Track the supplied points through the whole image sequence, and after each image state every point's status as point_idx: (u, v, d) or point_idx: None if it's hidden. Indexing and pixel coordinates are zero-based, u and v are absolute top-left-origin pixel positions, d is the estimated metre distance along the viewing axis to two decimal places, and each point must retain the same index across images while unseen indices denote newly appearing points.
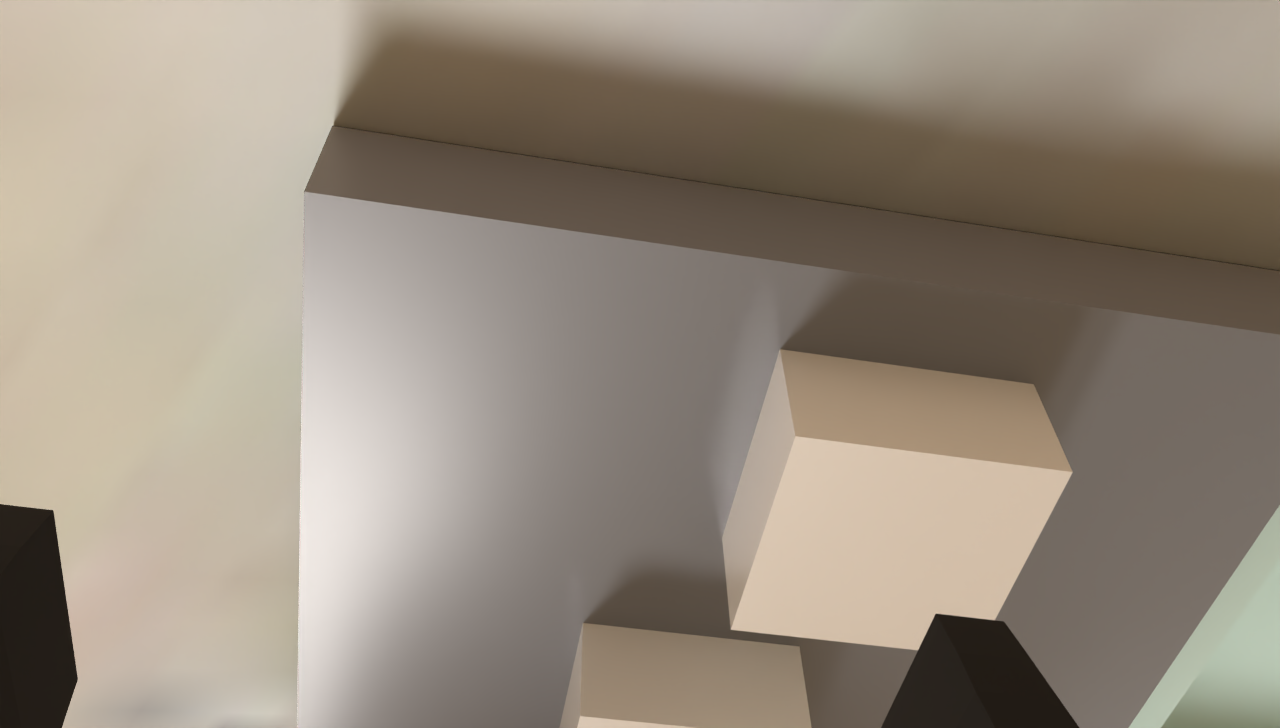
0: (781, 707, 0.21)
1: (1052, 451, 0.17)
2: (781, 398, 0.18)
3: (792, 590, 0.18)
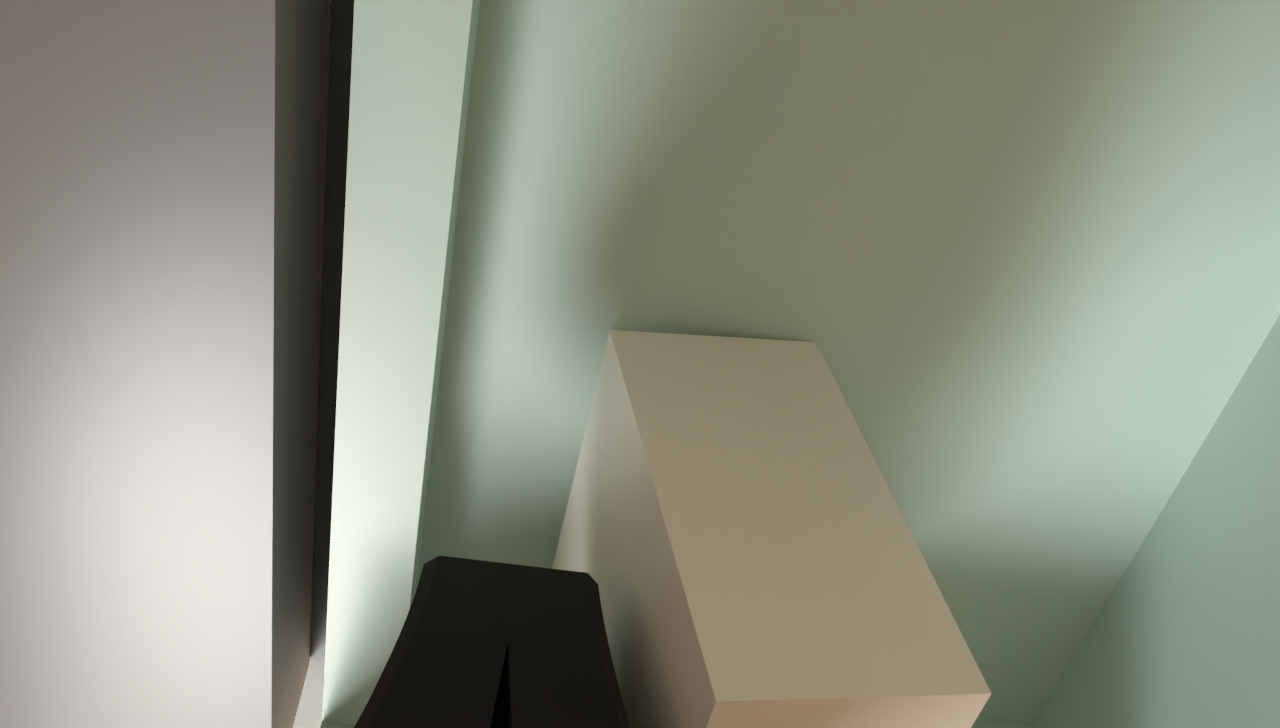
0: (772, 372, 0.11)
1: None
2: None
3: None
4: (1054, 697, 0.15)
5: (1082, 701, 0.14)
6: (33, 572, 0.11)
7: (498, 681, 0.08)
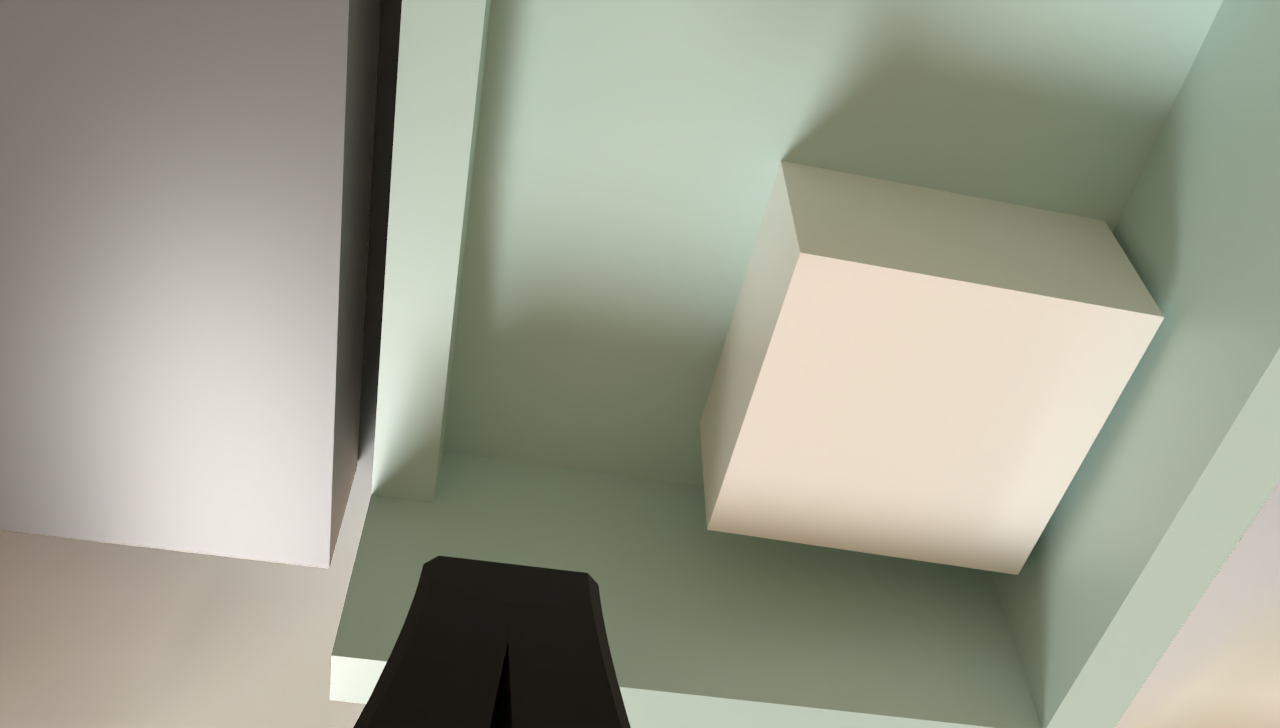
0: (828, 193, 0.13)
1: None
2: None
3: None
4: None
5: None
6: (145, 337, 0.13)
7: (498, 681, 0.08)
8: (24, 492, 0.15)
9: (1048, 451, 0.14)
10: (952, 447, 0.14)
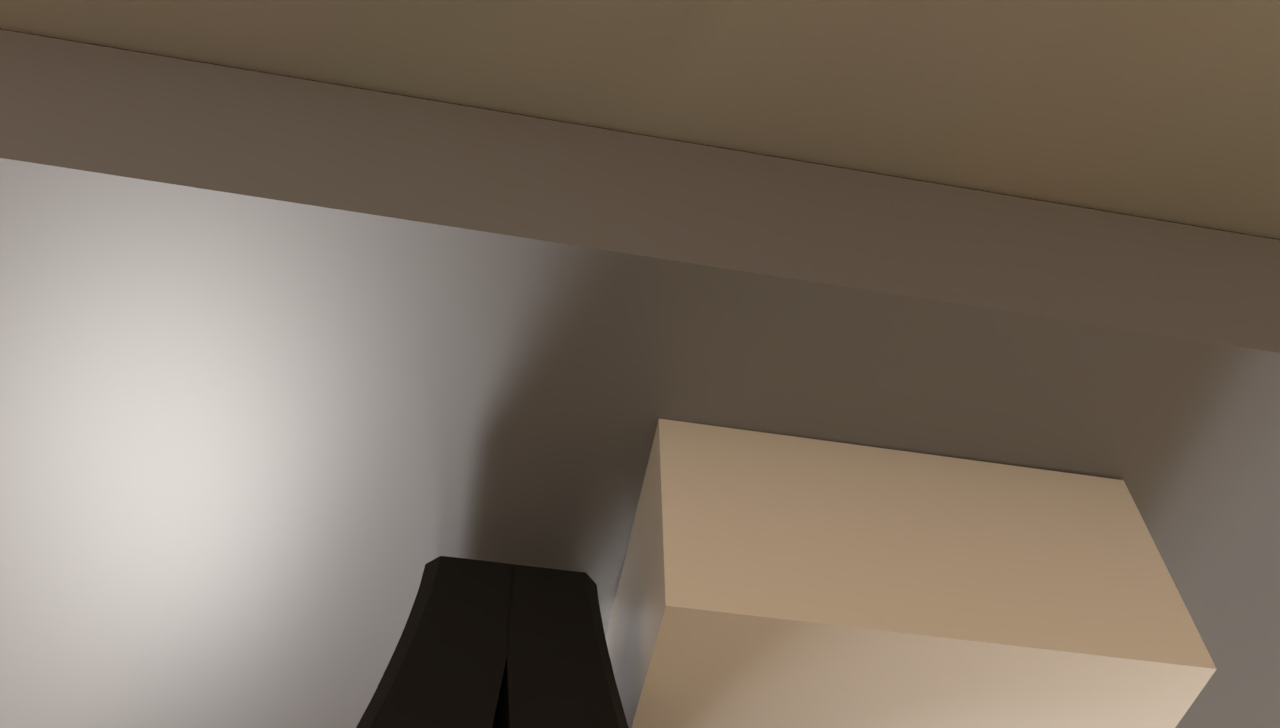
0: None
1: (1171, 622, 0.09)
2: (654, 515, 0.09)
3: None
4: None
5: None
6: None
7: (500, 681, 0.08)
8: None
9: None
10: None
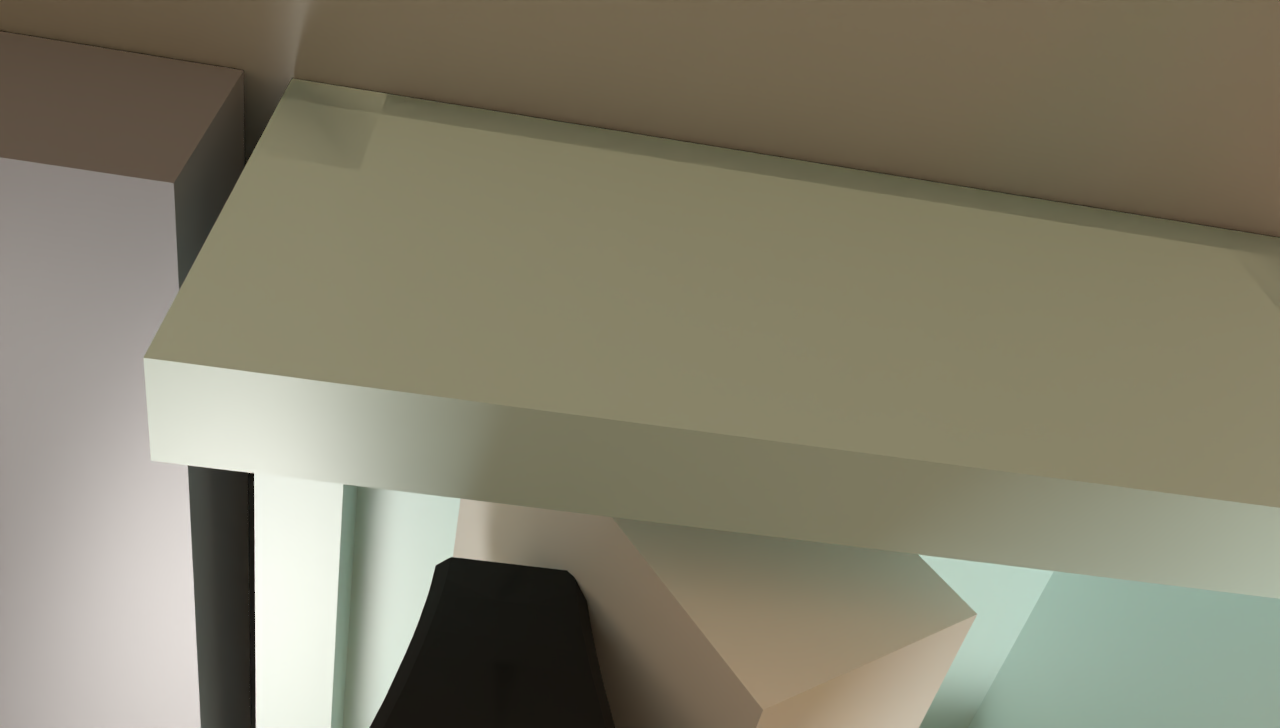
0: None
1: None
2: (848, 692, 0.08)
3: None
4: None
5: None
6: None
7: (512, 682, 0.08)
8: None
9: None
10: None
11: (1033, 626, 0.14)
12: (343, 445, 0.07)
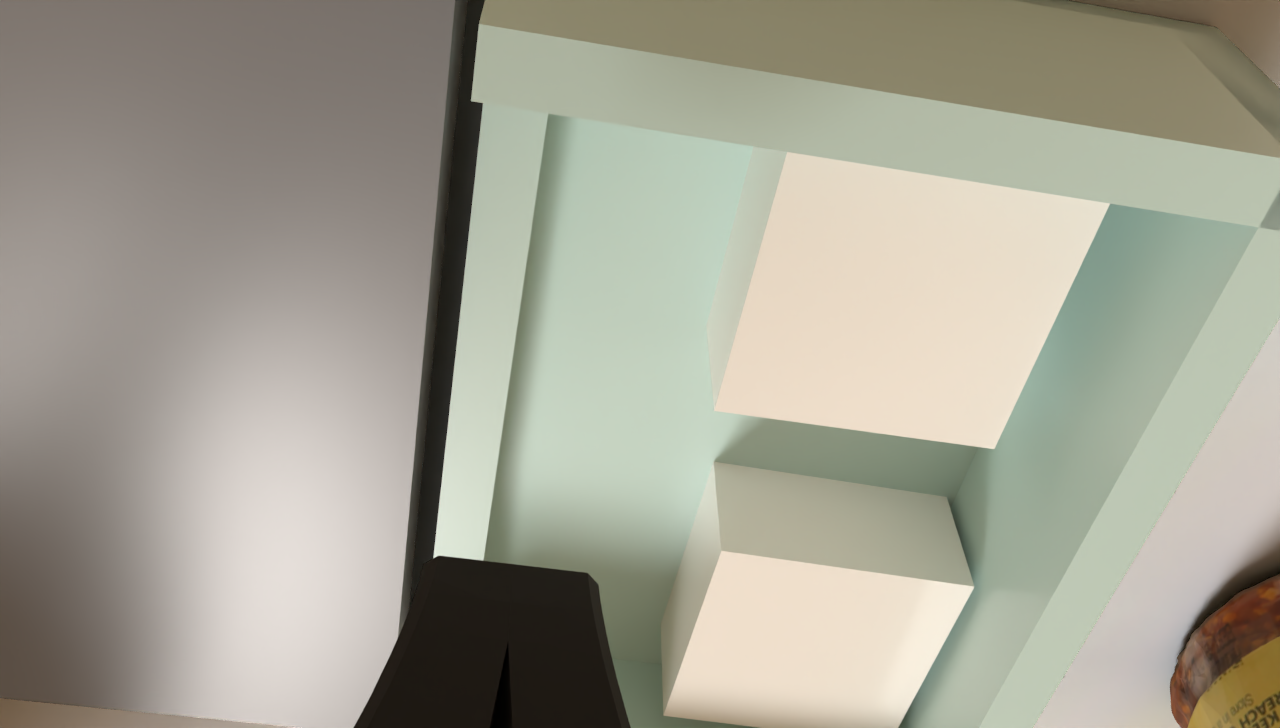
0: (746, 490, 0.19)
1: None
2: None
3: None
4: None
5: None
6: (267, 594, 0.19)
7: (498, 681, 0.08)
8: (171, 689, 0.20)
9: (903, 666, 0.20)
10: (835, 664, 0.20)
11: None
12: (592, 90, 0.12)
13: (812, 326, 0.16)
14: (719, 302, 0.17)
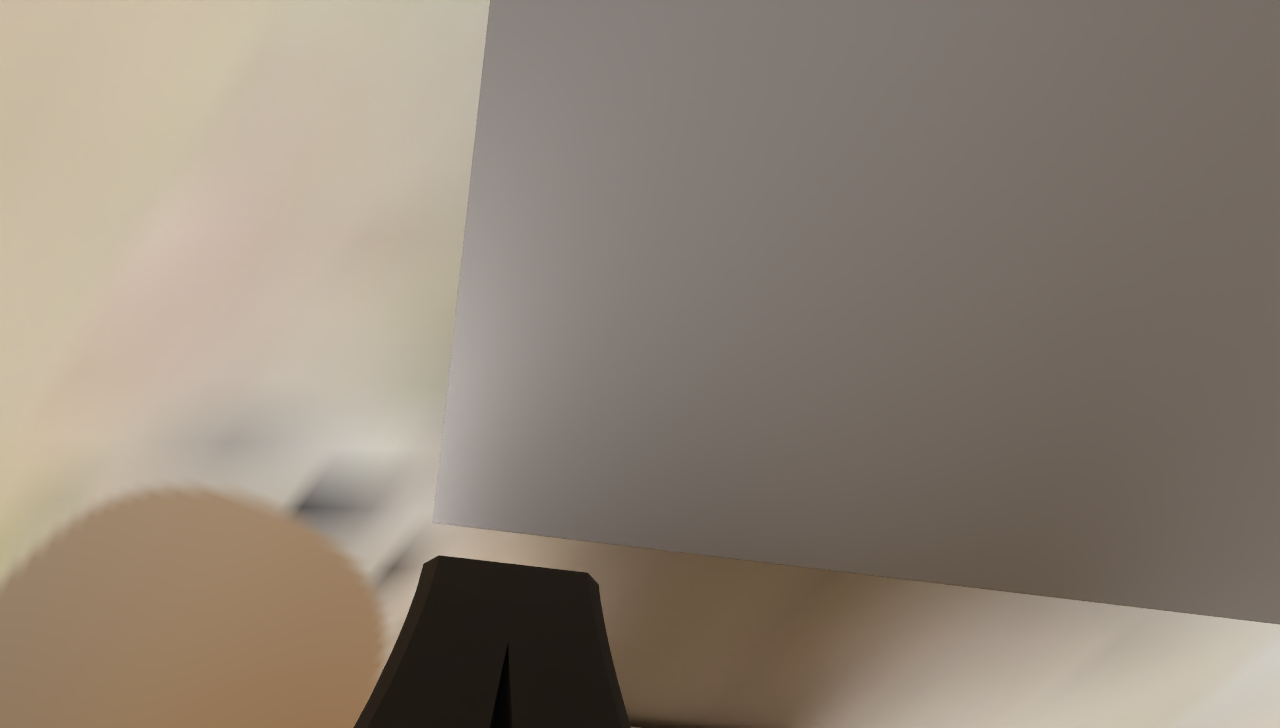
0: None
1: None
2: None
3: None
4: None
5: None
6: None
7: (498, 681, 0.08)
8: (1164, 579, 0.21)
9: None
10: None
11: None
12: None
13: None
14: None
